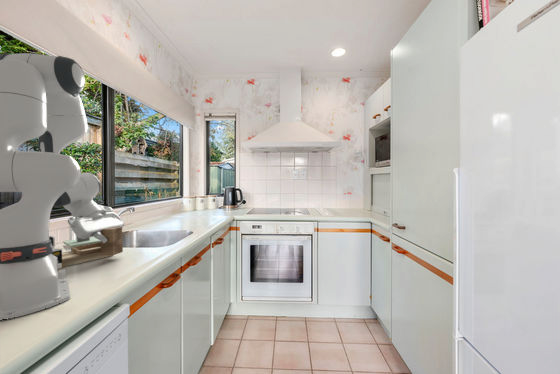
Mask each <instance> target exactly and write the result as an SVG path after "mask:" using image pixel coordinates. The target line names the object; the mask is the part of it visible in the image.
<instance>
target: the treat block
mask: <svg viewBox="0 0 560 374" xmlns="http://www.w3.org/2000/svg"><path fill="white" fill-rule="evenodd" d="M101 234H102V235H103V236H105V237H106V236H107V237H108V238H109V241H108V242H106V243H103V242H102V241H101V255H113V256H115V255H118V254H121V253H123V252H124V251H123V250H124V249H123V227H111V228H106V229H103V230H102V231H101Z"/></svg>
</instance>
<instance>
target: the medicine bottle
mask: <svg viewBox="0 0 560 374" xmlns="http://www.w3.org/2000/svg"><path fill="white" fill-rule="evenodd" d="M55 238H56V237H55V236H52V235H49V239H51V243H52V253H51V254H52V255H54V256H56V257H57V264H58V263H61V264H62V253H63V250H62V248H55V247H56V244H55V243H56V241H55V240H56V239H55ZM58 269H60V268H58Z"/></svg>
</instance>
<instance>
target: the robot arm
mask: <svg viewBox="0 0 560 374" xmlns="http://www.w3.org/2000/svg"><path fill="white" fill-rule="evenodd" d="M79 64H80V63H78V62H77V61H76V60H75V59H73V58H70V57H66V56H61V55H57V56H56V55H55V56H54V55H49V54H48V55H47V54H37V53H32V52H30V53H29V52H27V53H26V52H25V53H11V52H5V53H4V52H3V53H0V193H21V198H20V200H19V201H18V202H15V203H13V204H11V205H8V206H5V207H3V208H1V209H0V320H1V319H7V318H11V319H15V318H19V317H22V316H26V315H30V314H33V313H37V312H39V311H43V310H45V308H46V309H49V308H51V307H54V306H56V305H57V306H58V305H59V303H60V304H63V303H64V302H66V301H68V300H69V299H71V293H70V287H69V282H68V279H66V278H67V274H66V273H67V270H66V269H62V268H63V267H62V264H61V263H58V264H57V257H56V256H54V255H52V254H51V253H52V243H51V239H49V236H50V220H51V219H50V218H51V213H52V209H53V208H57V209H59V208H62V207H63V208H64V209H65V210H67V211H69V212H70V213H71V214H70V215H71V217H69V218H68V220H67V224H69V226H70V228H71V231H73V233H74V235H75V236H76V238H77V237H78V238H81V239H85V238H89V237H95V238H96V239H98V240H101V241H102V242H103V243H106V242H108V241H109V238H108V237H107V236H106V237H105V236H103V235H102V234H101V231H102V230H103V229H106V228H111V227H122V228H123V227H125V222H124V220H123V219H122V218H121V217H120V215H118V214H117V213H116V212H114V209H113V208H112V206H111V207H110V206H106V205H102V204H98V203H97V202H96V201H94V199H95V198H96V197H97V196H98V194H99V193H100V191H101V188H102V182H101V181H100V179H99V178H98V177H97V176H96V175H95V174H94V173H92V172H81V168H80V165H79V163H78V161H77V160H76V159H75V158H73V157H72V156H71V155H68V154H67V155H66V154H62V153H61V152H62V151H63V149H65V148H66V147H68V146H70V145H71V144H74V143H76V142H78V141H79V140H81V139H82V138H83V137H84V136H85V135H86V134H87V132H88V121H87V116H86V112H85V111H86V110H85V108H84V104H83V102H82V99H81V96H80V93H81V92H83V89H84V88H85V85H86V78H85V74H84V70H83V69H82V67H81V65H79ZM34 139H37V151H29V150H18V149H19V148H20V147H21V145H23V144H24V143H25V142H28V141H31V140H34ZM58 268H59V269H61V270H58ZM14 317H15V318H14ZM7 320H8V319H7Z"/></svg>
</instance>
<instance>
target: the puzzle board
mask: <svg viewBox="0 0 560 374" xmlns="http://www.w3.org/2000/svg"><path fill="white" fill-rule="evenodd" d="M109 256H110V257H114V255H101V242H100V243H94V244H88V245H82V246H76V247H70V250H69V251H64V252H63V251H62V268H63V267H67V266H71V265H72V266H73V265H77V264H81V263H86V262H91V261H96V260H99V259H104V257H105V258H109Z"/></svg>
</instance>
